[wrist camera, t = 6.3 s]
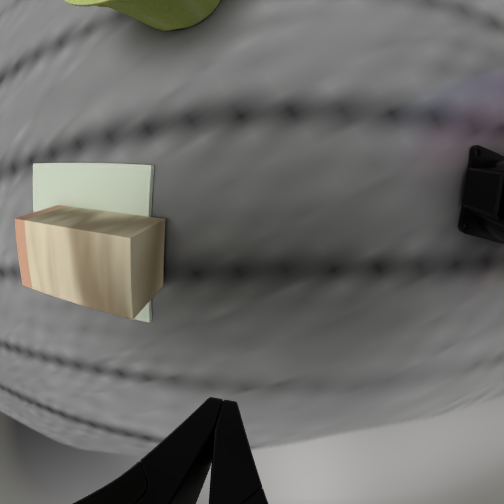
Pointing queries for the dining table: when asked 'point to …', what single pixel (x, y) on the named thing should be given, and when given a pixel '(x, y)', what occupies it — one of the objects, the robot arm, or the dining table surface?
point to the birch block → (92, 257)
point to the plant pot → (159, 11)
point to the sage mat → (96, 191)
